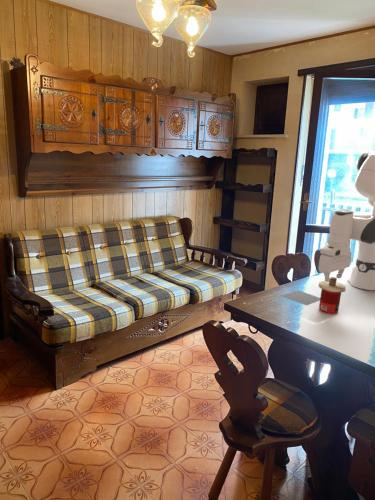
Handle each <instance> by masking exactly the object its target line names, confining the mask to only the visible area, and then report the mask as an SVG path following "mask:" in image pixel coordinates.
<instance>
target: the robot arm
mask: <svg viewBox="0 0 375 500" xmlns="http://www.w3.org/2000/svg"><path fill="white" fill-rule="evenodd" d="M356 170H357V172H358V173H357V175H356V178H355V182H354V187H355V189H356V191H357V192H358V193H359V194H360V196H361V195H362V197H364V198H366V199H367V201H368V204H369V205H370V206H371V207H373V209H372V212H364V211H362V212H361V211H359V212H353V210H351V209H345V208H342V209H337V210H334V211H333V214H332V217H331V221H330V225H329V236H328V239H327V243H326V244H325V245H323V246H322V247H321V248H320V250H319V252H320V257H319V262H318V271H319V272H320V273H323V275H324V281H325V282H330V279H331V278H330V277H331V276H330V275H331V273H333V272H337V273H336V276H335V278H337V279H342V277H343V274H344V272H345V269H347V268H350V266H351V264H352V263H351V262H352V251H351V248H350V247H351V240H352V241H356V242H358V255H357V258H356V260H355V266H353V267H352V271H351V274H350V277H349V278H348V279H347V282H349V284H350V285H351V286H353V287H355V288H358V289H361V290H366V291H367V290H368V291H375V151H373V152H371V151H366V152H365V151H364V152H363V153H361V154H360V155H359V156H358V158H357V161H356Z"/></svg>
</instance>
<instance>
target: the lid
mask: <svg viewBox="0 0 375 500" xmlns="http://www.w3.org/2000/svg"><path fill="white" fill-rule="evenodd" d="M330 278H331V279H330V282H325V280H320V281H319V282H318V288H319V289H321V290H322V289H323V290H326V291H330V292H341V293H344V292H346V290H347V289H346V288H347V287H346V285H345V284H343V283H340V282H338V281H337V280H338V278H336V276H335V277H333V276H330Z"/></svg>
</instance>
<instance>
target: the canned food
mask: <svg viewBox="0 0 375 500" xmlns="http://www.w3.org/2000/svg"><path fill="white" fill-rule="evenodd" d="M341 295H342V292H330V291H326V290H323V289H321V290H320V296H319V298H320V301H319V306H318V310H319V311H320V312H321V313H324V314H328V315H336V314H338V312H339V308H340V303H341Z"/></svg>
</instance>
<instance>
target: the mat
mask: <svg viewBox="0 0 375 500" xmlns="http://www.w3.org/2000/svg"><path fill="white" fill-rule="evenodd" d="M280 296H281V297H283V298H286V299H289V300H292V301H294V302H297V303H299V304H302V305H304V306H309V305H311V304H314V303H317V302H320V296H319V297H318V296H316V295H313V294H310V293H307V292H305V291H301V290H299V289H297V290H295V291H291V292H287V293H285V294H282V295H280Z"/></svg>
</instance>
